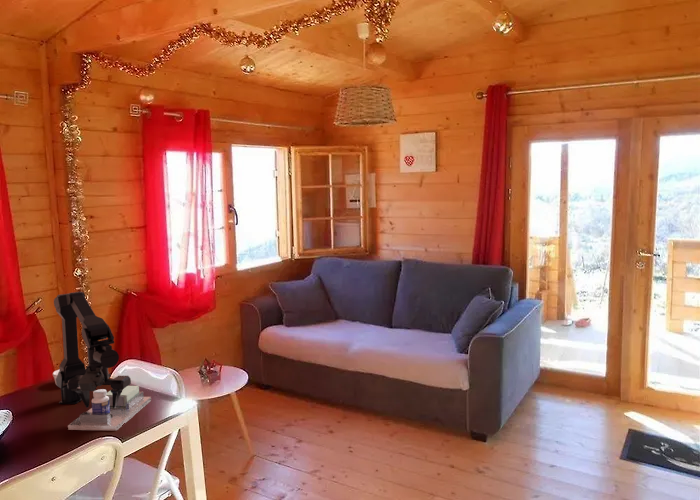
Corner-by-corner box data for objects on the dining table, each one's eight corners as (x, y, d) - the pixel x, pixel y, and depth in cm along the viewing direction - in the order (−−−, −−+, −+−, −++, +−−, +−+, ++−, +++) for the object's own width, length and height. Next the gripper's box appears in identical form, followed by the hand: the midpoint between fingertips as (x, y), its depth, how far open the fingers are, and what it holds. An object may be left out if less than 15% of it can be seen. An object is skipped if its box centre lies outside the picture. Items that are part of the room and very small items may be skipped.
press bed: (68, 429, 179) (67, 416, 178) (108, 400, 203) (107, 388, 203) (116, 430, 177) (115, 416, 177) (151, 400, 202) (150, 388, 202)
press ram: (104, 406, 193) (103, 395, 192) (118, 396, 202) (117, 385, 202) (126, 407, 192) (125, 395, 192) (139, 396, 202) (138, 385, 201)
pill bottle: (105, 420, 181) (103, 394, 180) (89, 420, 181) (87, 394, 180) (113, 414, 186) (111, 388, 185) (98, 414, 187) (96, 388, 186)
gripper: (55, 368, 174) (59, 417, 176) (113, 369, 173) (116, 418, 175) (75, 358, 185) (79, 403, 187) (130, 358, 184) (133, 404, 186)
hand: (101, 407), depth 183 cm, fingers open, 9 cm apart
